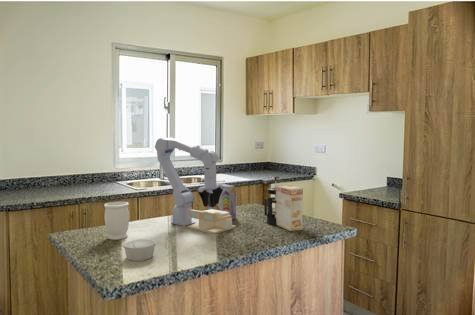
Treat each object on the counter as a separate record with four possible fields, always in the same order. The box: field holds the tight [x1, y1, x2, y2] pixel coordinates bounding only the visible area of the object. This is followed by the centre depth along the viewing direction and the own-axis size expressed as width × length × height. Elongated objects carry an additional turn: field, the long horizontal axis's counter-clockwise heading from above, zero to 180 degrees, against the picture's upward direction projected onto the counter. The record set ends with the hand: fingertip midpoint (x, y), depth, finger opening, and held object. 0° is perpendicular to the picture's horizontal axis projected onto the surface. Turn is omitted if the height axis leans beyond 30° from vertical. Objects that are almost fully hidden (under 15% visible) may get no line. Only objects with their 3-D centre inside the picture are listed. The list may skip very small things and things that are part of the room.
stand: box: [186, 209, 237, 235], centre depth 186 cm, size 15×18×7 cm
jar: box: [103, 201, 130, 241], centre depth 170 cm, size 11×10×15 cm
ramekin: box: [123, 238, 156, 262], centre depth 144 cm, size 11×11×5 cm
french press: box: [264, 176, 280, 226], centre depth 195 cm, size 12×9×23 cm
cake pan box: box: [207, 182, 237, 220], centre depth 208 cm, size 19×5×18 cm, turn 42°
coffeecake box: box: [274, 183, 304, 232], centre depth 186 cm, size 15×7×20 cm, turn 23°
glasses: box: [190, 208, 232, 222], centre depth 185 cm, size 12×16×4 cm
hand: (211, 205), depth 188 cm, fingers open, 7 cm apart
